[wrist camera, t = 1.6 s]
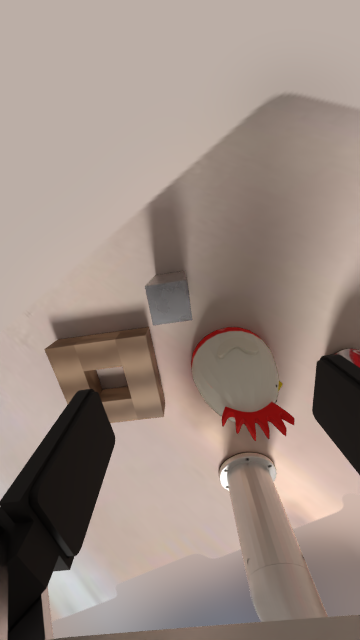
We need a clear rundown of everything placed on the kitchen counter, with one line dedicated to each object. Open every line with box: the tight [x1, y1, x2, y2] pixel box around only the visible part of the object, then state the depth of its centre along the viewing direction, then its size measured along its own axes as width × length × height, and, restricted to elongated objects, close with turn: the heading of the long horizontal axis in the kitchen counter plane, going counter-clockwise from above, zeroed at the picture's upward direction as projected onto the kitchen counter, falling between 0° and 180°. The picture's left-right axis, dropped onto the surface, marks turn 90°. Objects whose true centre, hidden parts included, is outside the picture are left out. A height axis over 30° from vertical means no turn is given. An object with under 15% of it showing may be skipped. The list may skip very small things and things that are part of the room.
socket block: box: [45, 327, 165, 423], centre depth 34 cm, size 16×16×4 cm
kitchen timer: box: [191, 327, 294, 441], centre depth 28 cm, size 14×14×15 cm
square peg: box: [145, 271, 192, 325], centre depth 26 cm, size 4×4×10 cm
